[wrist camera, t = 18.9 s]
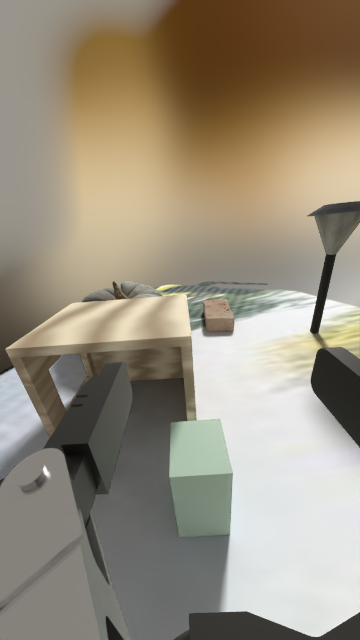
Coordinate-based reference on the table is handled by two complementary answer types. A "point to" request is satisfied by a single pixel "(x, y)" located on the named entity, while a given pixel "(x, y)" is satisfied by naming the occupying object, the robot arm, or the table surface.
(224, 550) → the table surface
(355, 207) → the solar garden light
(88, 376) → the box
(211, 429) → the block
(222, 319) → the brick
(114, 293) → the gourd
